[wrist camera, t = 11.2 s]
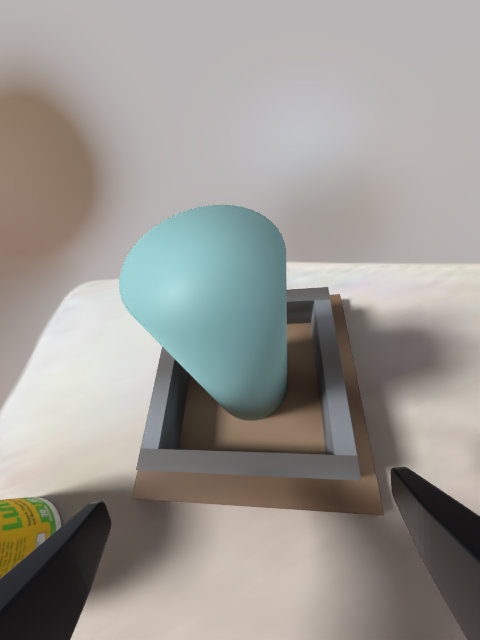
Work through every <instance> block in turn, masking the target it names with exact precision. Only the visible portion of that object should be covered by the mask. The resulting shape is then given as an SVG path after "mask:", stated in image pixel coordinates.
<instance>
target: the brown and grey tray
mask: <svg viewBox="0 0 480 640" xmlns="http://www.w3.org/2000/svg"><path fill="white" fill-rule="evenodd" d="M286 300H287V392H286V396H285V398H284V401H283V402H282V404H281V405H280V407H279V408H278V409H277V410H276V411H275V412H274V413H272V414H271V415H270V416H268V417H266V418H263V419H260V420H255V421H246V420H241V419H238V418H236V417H234V416H232V415H230V414H229V413H228V412H227V411H226V410H225V409H224V408H223V407H222V406H221V405H220V404H219V403H218V402H217V401H216V400H215V399H214V398H213V397H212V396H211V395H210V394H209V393H208V392H207V391H206V390H205V389H204V388H203V387H202V386H201V385H200V384H199V383H198V382H197V381H196V380H195V379H194V378H193V377H192V376H191V375H190V374H189V373H188V372H187V371H186V370H185V369H184V368H183V367H182V366H181V365H180V364H179V363H178V362H177V361H176V360H175V359H174V358H173V356H172V355H171V354H170V353H169V352H168V351H167V350H166V349H165V348H164V347H163V346H162V351H161V355H160V360H159V365H158V369H157V374H156V379H155V383H154V388H153V393H152V397H151V402H150V407H149V412H148V416H147V421H146V426H145V430H144V435H143V440H142V444H141V449H140V454H139V459H138V463H137V468H136V470H138V472H137V476H136V481H135V486H134V491H133V495H132V499H145V500H160V501H175V502H190V503H205V504H220V505H235V506H250V507H265V508H280V509H295V510H310V511H325V512H340V513H355V514H370V515H384V513H383V508H382V503H381V498H380V493H379V488H378V483H377V478H376V473H375V468H374V463H373V458H372V453H371V448H370V443H369V438H368V433H367V428H366V423H365V418H364V412H363V407H362V402H361V397H360V392H359V387H358V382H357V377H356V372H355V367H354V362H353V357H352V352H351V347H350V342H349V337H348V332H347V327H346V322H345V317H344V312H343V307H342V302H341V297H340V294H337V295H329V290H328V287H323V288H307V289H292V290H286Z"/></svg>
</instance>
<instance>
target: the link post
mask: <svg viewBox="0 0 480 640" xmlns="http://www.w3.org/2000/svg"><path fill="white" fill-rule="evenodd" d="M119 285H120V294H121V298H122V301H123V303H124V305H125V307H126V308H127V310H128V311H129V313H130V314H131V315H132V316H133V317H134V318H135V319H136V320H137V321H138V322H139V323H140V324H141V325H142V326H143V327H144V328H145V329H146V330H147V331H148V332H149V333H150V334H151V335H152V336H153V337H154V338H155V339H156V340H157V341H158V342H159V343H160V344H161V345H162V346H163V347H164V348H165V349H166V350H167V351H168V352H169V353H170V354H171V355H172V356H173V358H174V359H175V360H176V361H177V362H178V363H179V364H180V365H181V366H182V367H183V368H184V369H185V370H186V371H187V372H188V373H189V374H190V375H191V376H192V377H193V378H194V379H195V380H196V381H197V382H198V383H199V384H200V385H201V386H202V387H203V388H204V389H205V390H206V391H207V392H208V393H209V394H210V395H211V396H212V397H213V398H214V399H215V400H216V401H217V402H218V403H219V404H220V405H221V406H222V407H223V408H224V409H225V410H226V411H227V412H228V413H229V414H230V415H232V416H234V417H236V418H238V419H241V420H246V421H255V420H260V419H263V418H266V417H268V416H270V415H271V414H272V413H274V412H275V411H276V410H277V409H278V408H279V407H280V405H281V404H282V402H283V401H284V398H285V396H286V392H287V300H286V248H285V243H284V240H283V237H282V235H281V233H280V232H279V230H278V228H277V227H276V226H275V225H274V224H273V223H272V222H271V221H270V220H269V219H267V218H266V217H265V216H263V215H261V214H260V213H258V212H255V211H253V210H250V209H247V208H243V207H238V206H231V205H213V206H204V207H199V208H195V209H191V210H188V211H185V212H182V213H179V214H177V215H175V216H172V217H170V218H168V219H167V220H165V221H163V222H161V223H160V224H158V225H157V226H155V227H154V228H152V229H151V230H150V231H149V232H147V233H146V234H145V235H144V236H143V237H142V238H141V239H140V240H139V241H138V242H137V244H135V246H134V247H133V248H132V250H131V251H130V253H129V254H128V256H127V258H126V260H125V262H124V264H123V267H122V271H121V274H120V282H119Z"/></svg>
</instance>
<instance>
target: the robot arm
mask: <svg viewBox="0 0 480 640" xmlns="http://www.w3.org/2000/svg"><path fill="white" fill-rule="evenodd" d="M391 487H392V494H393V497H394V500H395V502H396V504H397V506H398V509H399V511H400V513H401V515H402V517H403V519H404V521H405V523H406V526H407V528H408V530H409V532H410V534H411V536H412V538H413V541H414V543H415V545H416V547H417V549H418V551H419V553H420V555H421V557H422V559H423V562H424V564H425V565H426V567H427V569H428V571H429V573H430V575H431V576H432V578H433V580H434V582H435V583H436V585H437V587H438V589H439V590H440V592H441V594H442V596H443V597H444V599H445V601H446V603H447V604H448V606H449V608H450V610H451V611H452V613H453V615H454V617H455V618H456V620H457V622H458V624H459V625H460V627H461V629H462V631H463V632H464V634H465V636H466V638H467V639H468V640H480V516H479V515H477V514H476V513H474V512H473V511H471V510H470V509H468V508H467V507H465V506H464V505H462V504H461V503H459V502H458V501H456V500H455V499H453V498H452V497H450V496H449V495H447V494H446V493H444V492H443V491H441V490H440V489H439V488H437V487H436V486H434V485H433V484H431V483H430V482H428V481H427V480H425V479H424V478H422V477H421V476H419V475H418V474H416V473H415V472H413V471H412V470H410V469H409V468H407V467H397V468H392V469H391ZM110 529H111V519H110V516H109V513H108V511H107V508H106V505H105V503H104V502H103V501H98V502H91V503H89V504H88V505H86V506H85V507H84V508H83V509H82V510H80V511H79V512H78V513H77V514H76V515H75V516H73V517H72V518H71V519H70V520H69V521H68V522H66V523H65V524H64V525H63V526H62V527H60V528H59V529H58V530H57V531H56V532H55V533H53V534H52V535H51V536H50V537H49V538H47V539H46V540H45V541H44V542H43V543H42V544H40V545H39V546H38V547H37V548H36V549H34V550H33V551H32V552H31V553H30V554H29V555H27V556H26V557H25V558H24V559H23V560H22V561H20V562H19V563H18V564H17V565H16V566H14V567H13V568H12V569H11V570H10V571H9V572H7V573H6V574H5V575H4V576H3V577H1V578H0V640H70V639H71V637H72V634H73V632H74V629H75V627H76V624H77V622H78V620H79V617H80V615H81V612H82V610H83V607H84V605H85V602H86V600H87V597H88V595H89V592H90V589H91V587H92V584H93V581H94V578H95V575H96V572H97V569H98V566H99V563H100V560H101V557H102V554H103V551H104V548H105V545H106V542H107V539H108V536H109V533H110Z"/></svg>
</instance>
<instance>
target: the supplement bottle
mask: <svg viewBox="0 0 480 640" xmlns="http://www.w3.org/2000/svg"><path fill="white" fill-rule="evenodd" d="M60 527H61V521H60V516H59V513H58V511H57V509H56V508H55V506H54V505H53V504H52V503H51V502H49V501H48V500H46V499H43V498H38V497H30V498H17V499H6V500H0V578H1V577H3V576H4V575H5V574H6V573H7V572H9V571H10V570H11V569H12V568H13V567H14V566H16V565H17V564H18V563H19V562H20V561H22V560H23V559H24V558H25V557H26V556H27V555H29V554H30V553H31V552H32V551H33V550H34V549H36V548H37V547H38V546H39V545H40V544H42V543H43V542H44V541H45V540H46V539H47V538H49V537H50V536H51V535H52V534H53V533H55V532H56V531H57V530H58V529H59V528H60Z"/></svg>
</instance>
